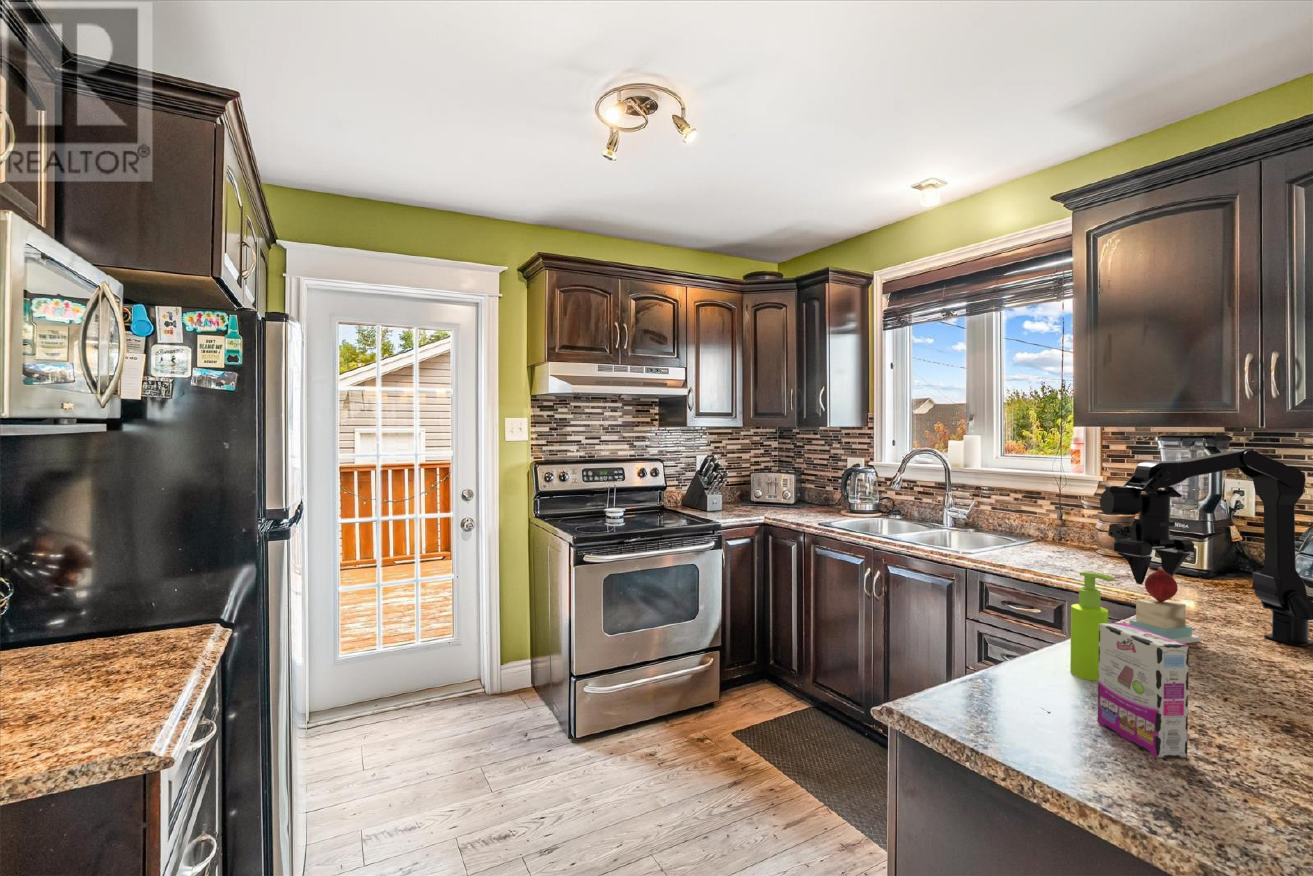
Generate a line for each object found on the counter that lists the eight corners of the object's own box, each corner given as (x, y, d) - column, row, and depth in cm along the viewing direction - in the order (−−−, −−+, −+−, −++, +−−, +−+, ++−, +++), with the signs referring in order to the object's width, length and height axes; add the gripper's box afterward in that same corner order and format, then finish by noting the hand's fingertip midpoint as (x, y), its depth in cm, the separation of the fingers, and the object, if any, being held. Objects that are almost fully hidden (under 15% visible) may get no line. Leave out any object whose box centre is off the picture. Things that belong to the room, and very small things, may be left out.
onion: (1183, 606, 137) (1183, 570, 137) (1154, 604, 138) (1154, 569, 138) (1167, 599, 143) (1167, 565, 142) (1139, 598, 144) (1139, 564, 144)
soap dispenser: (1103, 685, 113) (1104, 578, 113) (1063, 672, 119) (1065, 570, 119) (1120, 680, 115) (1121, 575, 115) (1080, 667, 122) (1081, 567, 121)
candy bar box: (1190, 759, 88) (1192, 645, 87) (1158, 760, 87) (1159, 646, 87) (1124, 722, 99) (1125, 621, 98) (1095, 723, 98) (1096, 622, 98)
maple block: (1156, 618, 144) (1156, 597, 144) (1185, 626, 139) (1185, 604, 139) (1136, 621, 142) (1136, 599, 142) (1164, 629, 136) (1164, 606, 136)
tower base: (1151, 627, 147) (1151, 615, 147) (1199, 641, 137) (1199, 628, 137) (1122, 631, 144) (1122, 619, 144) (1169, 646, 134) (1169, 632, 134)
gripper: (1144, 510, 152) (1143, 572, 152) (1090, 512, 146) (1089, 577, 146) (1196, 516, 142) (1195, 583, 142) (1140, 519, 136) (1139, 588, 136)
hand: (1152, 582), depth 142 cm, fingers open, 9 cm apart
